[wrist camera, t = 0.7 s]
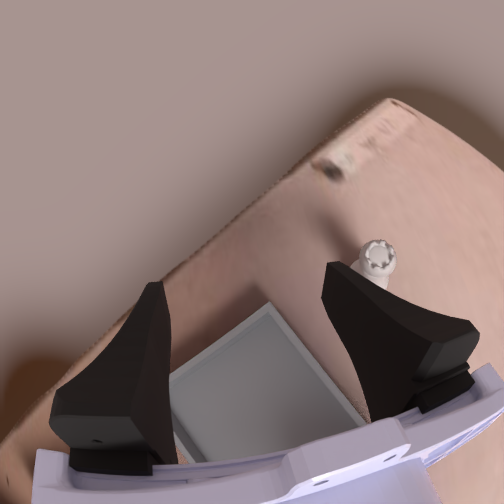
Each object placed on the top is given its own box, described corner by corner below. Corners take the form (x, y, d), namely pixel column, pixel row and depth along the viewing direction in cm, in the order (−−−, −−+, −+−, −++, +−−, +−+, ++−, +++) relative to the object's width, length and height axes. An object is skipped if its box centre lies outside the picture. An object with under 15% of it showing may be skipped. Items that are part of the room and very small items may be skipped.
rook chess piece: (352, 308, 29) (363, 289, 22) (339, 267, 31) (345, 237, 24) (392, 294, 29) (414, 271, 21) (378, 255, 30) (394, 221, 23)
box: (380, 440, 24) (386, 447, 21) (250, 517, 23) (244, 529, 20) (274, 307, 31) (269, 301, 28) (156, 391, 30) (143, 392, 27)
